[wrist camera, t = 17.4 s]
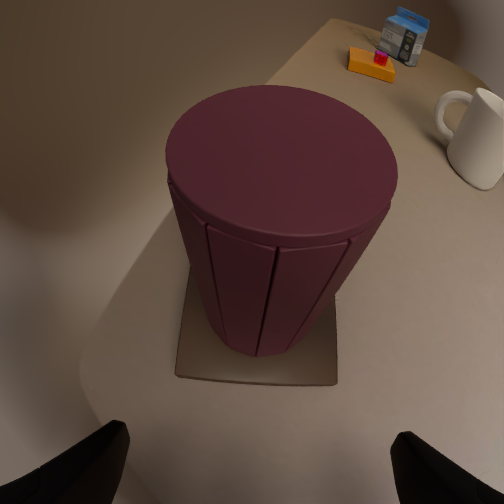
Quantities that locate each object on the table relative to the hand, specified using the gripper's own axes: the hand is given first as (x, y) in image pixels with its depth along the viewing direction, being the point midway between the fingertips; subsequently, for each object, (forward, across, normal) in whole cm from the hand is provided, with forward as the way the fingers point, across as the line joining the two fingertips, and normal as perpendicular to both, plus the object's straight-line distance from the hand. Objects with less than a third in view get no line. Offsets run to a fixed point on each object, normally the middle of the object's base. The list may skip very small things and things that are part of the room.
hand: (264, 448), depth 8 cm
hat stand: (+12, 0, +1) cm, 12 cm away
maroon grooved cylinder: (+12, 0, 0) cm, 12 cm away
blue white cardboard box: (+52, -28, -39) cm, 71 cm away
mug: (+27, -25, -14) cm, 39 cm away
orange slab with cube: (+44, -17, -30) cm, 56 cm away
